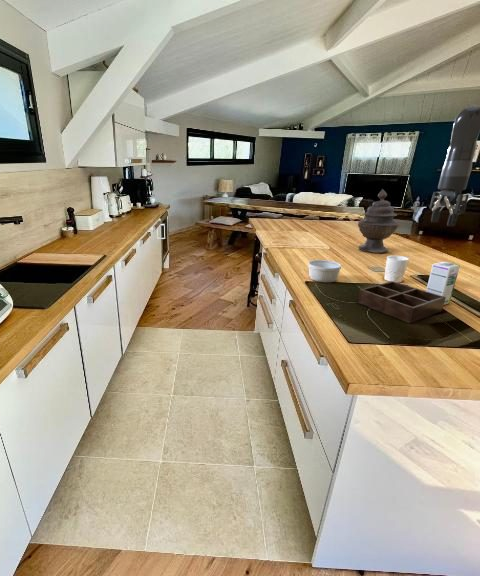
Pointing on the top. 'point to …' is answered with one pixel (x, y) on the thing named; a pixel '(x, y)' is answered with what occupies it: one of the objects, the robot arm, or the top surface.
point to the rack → (401, 301)
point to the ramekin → (324, 270)
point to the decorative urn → (377, 225)
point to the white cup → (395, 268)
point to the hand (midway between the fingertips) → (442, 223)
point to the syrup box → (443, 279)
